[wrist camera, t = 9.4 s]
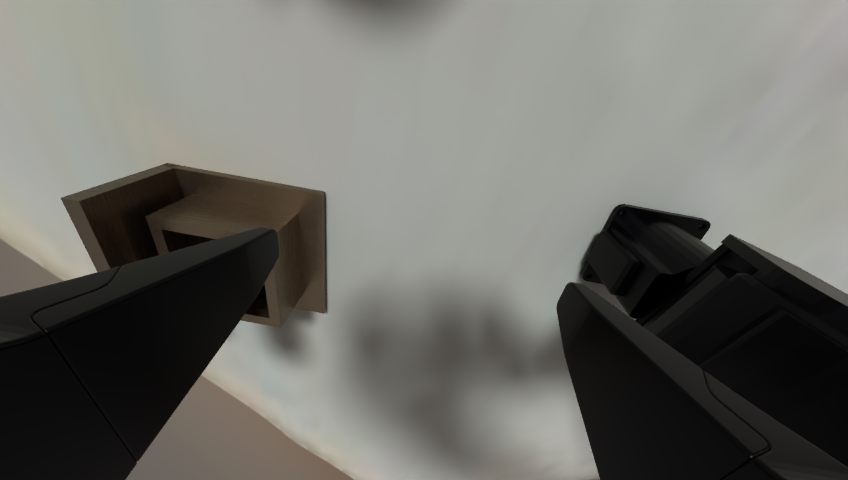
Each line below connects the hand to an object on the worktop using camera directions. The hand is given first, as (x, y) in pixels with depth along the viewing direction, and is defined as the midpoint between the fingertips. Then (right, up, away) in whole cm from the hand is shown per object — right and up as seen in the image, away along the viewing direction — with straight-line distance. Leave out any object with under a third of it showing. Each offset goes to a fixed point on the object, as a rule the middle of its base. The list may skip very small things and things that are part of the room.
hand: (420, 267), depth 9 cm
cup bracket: (-14, 0, +16) cm, 22 cm away
